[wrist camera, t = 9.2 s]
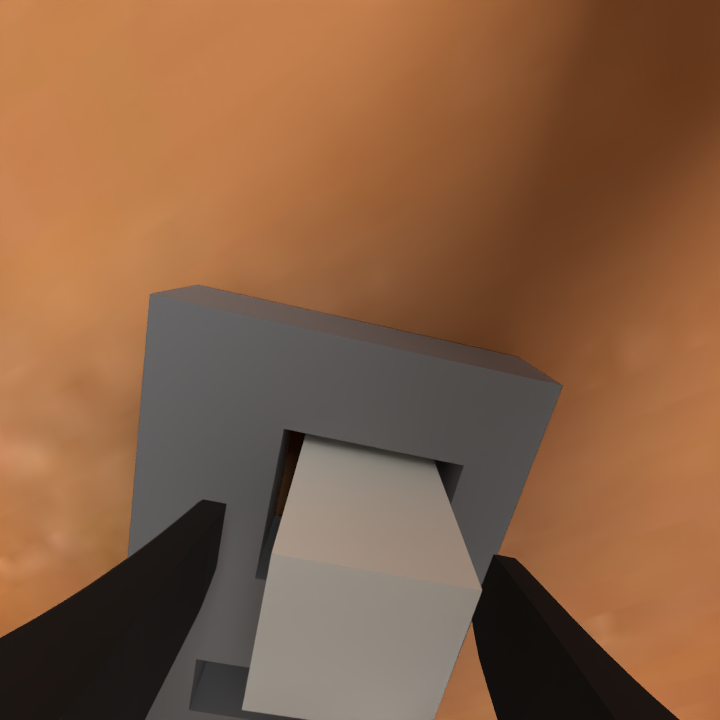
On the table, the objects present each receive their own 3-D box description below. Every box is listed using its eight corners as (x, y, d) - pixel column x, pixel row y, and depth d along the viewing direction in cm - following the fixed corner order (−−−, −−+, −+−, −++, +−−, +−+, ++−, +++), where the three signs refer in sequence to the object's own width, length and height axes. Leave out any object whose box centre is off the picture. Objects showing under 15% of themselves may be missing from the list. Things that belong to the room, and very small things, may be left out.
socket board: (390, 722, 18) (397, 813, 15) (151, 685, 17) (109, 772, 14) (518, 356, 13) (562, 385, 10) (197, 284, 13) (150, 293, 10)
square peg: (395, 520, 15) (427, 737, 8) (294, 501, 15) (241, 710, 8) (421, 428, 14) (482, 590, 7) (313, 406, 14) (271, 553, 7)
